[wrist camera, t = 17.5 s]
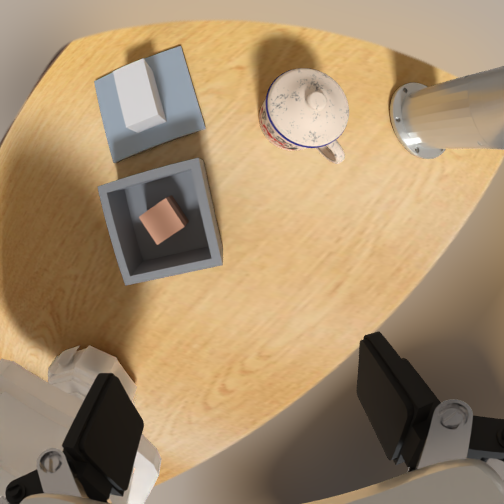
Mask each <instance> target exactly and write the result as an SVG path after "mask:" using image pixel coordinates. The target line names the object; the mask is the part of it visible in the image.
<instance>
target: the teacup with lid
mask: <svg viewBox="0 0 504 504" xmlns="http://www.w3.org/2000/svg"><path fill="white" fill-rule="evenodd" d="M348 117H349V106H348V101H347V98H346V96H345V94H344V92H343V90H342V89H341V87H340V86H339V85H338V83H337V82H336V81H335V80H333V79H332V78H331V77H330V76H328V75H326V74H325V73H323V72H320V71H318V70H314V69H309V68H298V69H293V70H289V71H287V72H285V73H283V74H281V75H280V76H278V77H277V78H276V79H275V80H274V81H273V83H272V84H271V86H270V88H269V90H268V92H267V96H266V99H265V101H264V103H263V104H262V106H261V109H260V114H259V122H260V127H261V129H262V132H263V134H264V135H265V137H266V138H267V139H268V140H269V141H270V142H271V143H272V144H274V145H275V146H277V147H279V148H281V149H284V150H289V151H298V150H303V149H306V148H316V149H317V150H318V151H319V152H320V153H321V154H322V155H323V156H324V157H325V158H326V159H328V160H329V161H331V162H333V163H336V164H338V163H341V162H342V161H343V160H344V158H345V154H344V151H343V149H342V147H341V146H340V144H339V143H338V142H337V140H336V139H337V138H338V137H339V136H340V135H341V134H342V133H343V131H344V129H345V127H346V125H347V122H348ZM326 145H327V146H328V147H329V148H330V149H329V148H328V147H327V146H326Z"/></svg>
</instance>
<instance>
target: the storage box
mask: <svg viewBox="0 0 504 504" xmlns="http://www.w3.org/2000/svg"><path fill="white" fill-rule="evenodd" d="M98 191H99V196H100V200H101V204H102V208H103V212H104V216H105V220H106V224H107V228H108V231H109V235H110V238H111V242H112V245H113V249H114V252H115V255H116V259H117V262H118V265H119V268H120V271H121V274H122V277H123V280H124V283H125V286H126V285H130V284H135V283H140V282H145V281H150V280H154V279H159V278H164V277H169V276H173V275H178V274H183V273H187V272H192V271H197V270H201V269H206V268H211V267H216V266H220V265H223V247H222V242H221V238H220V234H219V229H218V225H217V220H216V216H215V211H214V207H213V202H212V198H211V193H210V189H209V184H208V179H207V175H206V170H205V165H204V161H203V160H202V159H200V158H195V159H191V160H187V161H183V162H179V163H175V164H171V165H167V166H164V167H160V168H156V169H153V170H149V171H146V172H142V173H139V174H136V175H132V176H129V177H126V178H123V179H119V180H116V181H113V182H110V183H107V184H104V185H101V186H98ZM171 195H172V196H173V198H174V199H175V201H176V202H177V204H178V205H179V207H180V208H181V210H182V211H183V213H184V214H185V216H186V217H187V219H188V221H189V222H188V223H187V224H186V226H185V227H184V228H182V229H181V230H179V231H178V232H176V233H175V234H173V235H172V236H170V237H169V238H167V239H166V240H164V241H163V242H161V243H160V244H158V245H157V244H156V242H155V241H154V239H153V238H152V236H151V235H150V233H149V232H148V231H147V229H146V228H145V226H144V224H143V223H142V221H141V220H140V218H139V217H140V216H141V215H142V214H144V213H145V212H147V211H148V210H149V209H151V208H152V207H154V206H155V205H156V204H158V203H159V202H161V201H162V200H164V199H165V198H167V197H169V196H171Z"/></svg>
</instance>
